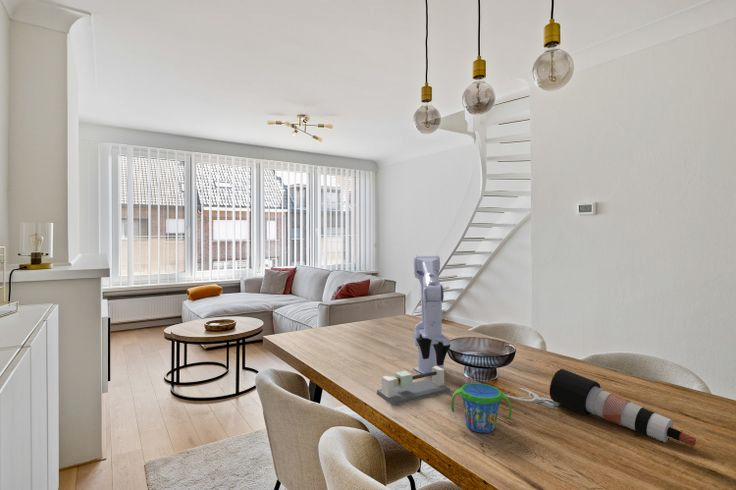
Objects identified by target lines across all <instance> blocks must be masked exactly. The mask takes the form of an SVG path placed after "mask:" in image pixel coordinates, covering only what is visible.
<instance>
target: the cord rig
mask: <svg viewBox="0 0 736 490" xmlns="http://www.w3.org/2000/svg"><path fill="white" fill-rule="evenodd" d="M444 369H445V368H444ZM444 369H442V368H440V367H438V366H434V367H432V372H429V373H424V374H422V373H420V374H414V375H413V378H412V387H409V388H405V389H401V388H400V387H398V386H397V385H398V384H399V383H400V379H398V378H397V377H395V376H392V375H391V376H389V375H384V376H381V389H377V390H376V394H377V395H378V396H379V397H381V398H383V399H384V400H385V401H387V402H388V403H390V404H391V405H393V406H396V405H400V404H404V403H409V402H413V401H417V400H421V399H425V398H429V397H433V396H437V395H440V394H441V395H442V394H446V393H449V392H451V388H450V387H448V386H447V385H446V384H445V371H444ZM428 377H431V378H428ZM423 378H426V379H423ZM417 379H418V381H414V380H417ZM419 379H423V380H419ZM413 381H414V382H413Z"/></svg>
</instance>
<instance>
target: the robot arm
mask: <svg viewBox="0 0 736 490" xmlns="http://www.w3.org/2000/svg"><path fill="white" fill-rule="evenodd" d="M413 269H414V272H413V274H414V277H415V278H416V279H418V280H419V283H420V302H421V304H420V305H421V306H420V307H421V308H420V309H421V314H420V315H421V321H420V322H418V323H417V324H415V327H414V334H413V335H414V345H415V347H417V366H416V367H415V366H414V367H413V368H412V369H413V370H414V371H417V372H418V373H420V374H424V373H429V372H432V367H434V366H438V367H440V368H442V369H444V372H445V371H446V369H445V367H444V366H445V365H444V364H445V363H444V362H445V358H446V355H447V353H448V351H449V349H450V348H451V343H450V341H451V340H450V338H448V337H446V336H445V335H444V334H443V331H442V329H443V327H442V326H443V321H442V320H443V316H442V315H443V314H442V313H443V310H442V309H443V304H442V303H444V296H445V293H444V292H445V291H444V287H443V284H442V283H440V279H439V273H440V269H441V258H440V255H415V256H414V257H413Z"/></svg>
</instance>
